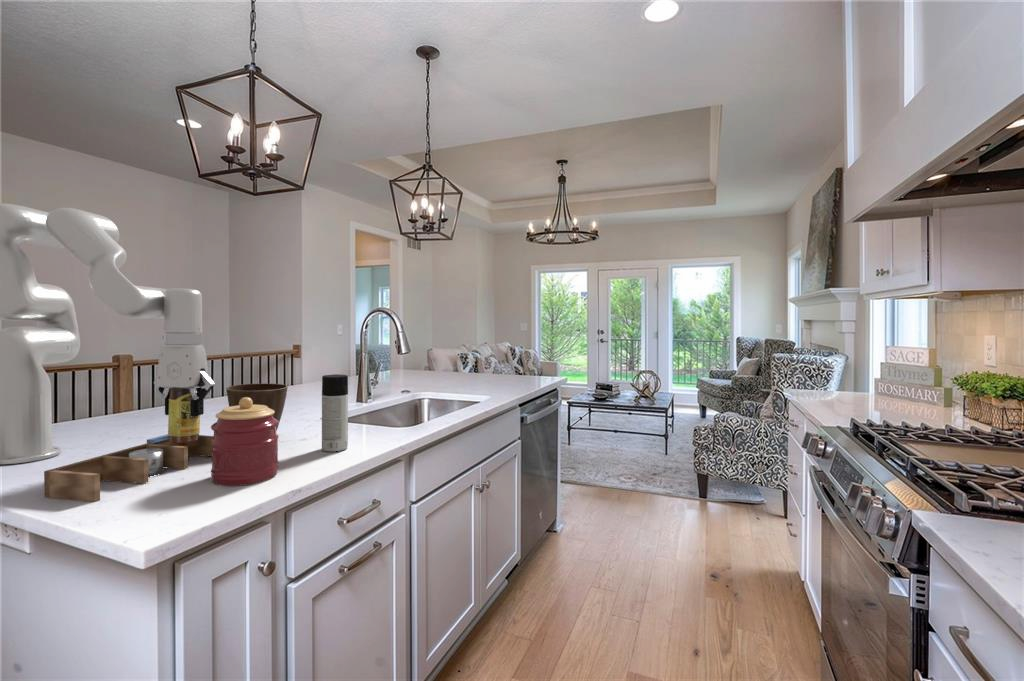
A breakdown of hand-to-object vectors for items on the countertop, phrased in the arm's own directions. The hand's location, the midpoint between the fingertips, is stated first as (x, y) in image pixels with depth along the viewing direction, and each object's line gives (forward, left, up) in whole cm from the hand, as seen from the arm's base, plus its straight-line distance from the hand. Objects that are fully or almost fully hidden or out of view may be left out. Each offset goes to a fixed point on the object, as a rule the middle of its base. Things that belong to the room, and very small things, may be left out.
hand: (184, 414), depth 114 cm
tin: (0, -10, -12) cm, 15 cm away
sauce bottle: (0, 0, -7) cm, 7 cm away
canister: (+22, -7, -12) cm, 26 cm away
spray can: (+29, +18, -12) cm, 36 cm away
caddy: (0, -10, -11) cm, 15 cm away
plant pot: (+6, +18, -12) cm, 22 cm away
